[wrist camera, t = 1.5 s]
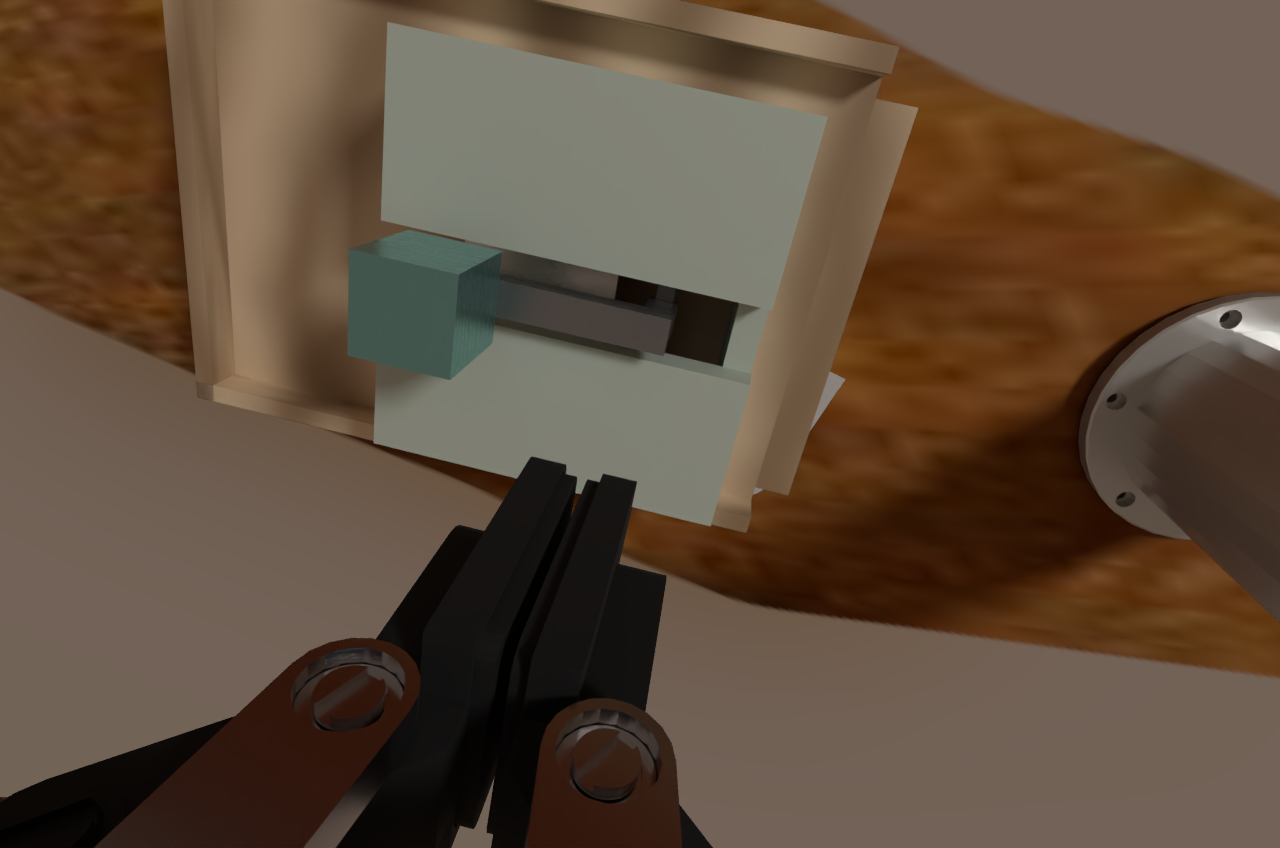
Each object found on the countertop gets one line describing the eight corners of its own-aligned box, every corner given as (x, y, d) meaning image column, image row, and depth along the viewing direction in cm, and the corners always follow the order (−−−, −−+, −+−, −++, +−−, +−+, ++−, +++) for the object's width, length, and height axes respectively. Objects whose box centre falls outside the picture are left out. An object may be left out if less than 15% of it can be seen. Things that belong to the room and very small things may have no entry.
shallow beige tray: (894, 72, 30) (946, 56, 22) (773, 455, 38) (780, 541, 30) (300, -53, 31) (152, -111, 23) (306, 342, 39) (197, 397, 31)
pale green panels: (811, 117, 24) (827, 116, 19) (716, 457, 30) (710, 526, 25) (461, 42, 25) (387, 21, 20) (435, 389, 31) (373, 443, 26)
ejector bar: (715, 158, 25) (696, 181, 16) (659, 403, 29) (619, 531, 20) (492, 109, 26) (350, 103, 16) (468, 357, 30) (345, 463, 21)
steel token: (639, 198, 26) (631, 204, 25) (612, 344, 29) (603, 359, 27) (489, 165, 27) (470, 168, 25) (475, 312, 29) (457, 324, 27)
